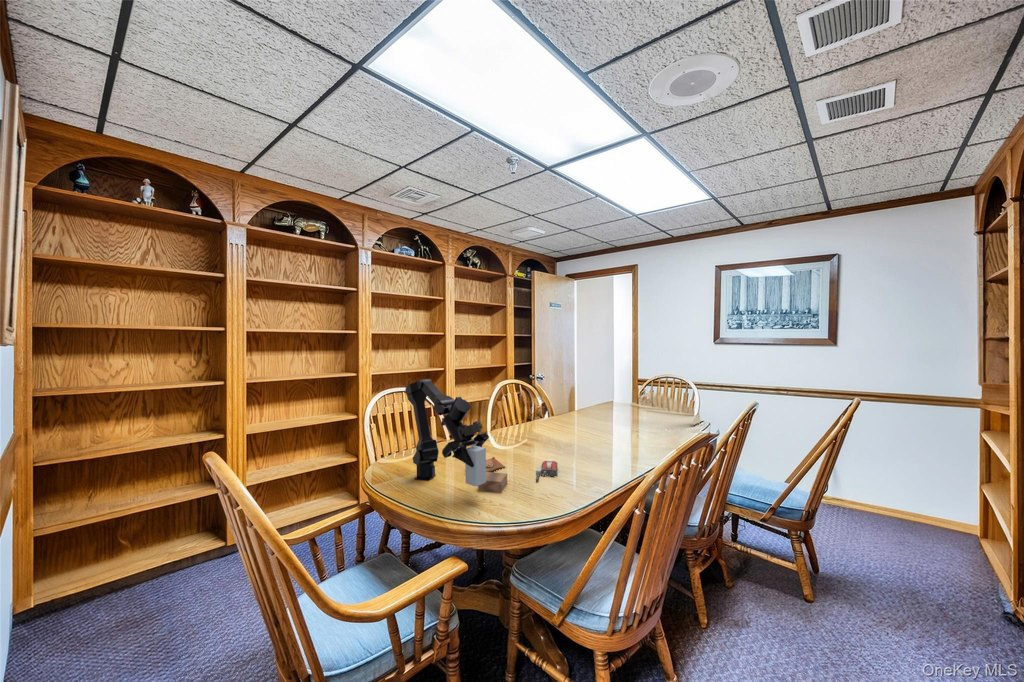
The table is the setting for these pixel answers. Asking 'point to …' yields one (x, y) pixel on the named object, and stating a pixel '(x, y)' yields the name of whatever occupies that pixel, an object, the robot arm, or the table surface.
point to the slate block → (476, 466)
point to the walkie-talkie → (547, 469)
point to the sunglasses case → (493, 465)
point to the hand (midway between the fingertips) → (478, 464)
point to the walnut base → (494, 482)
